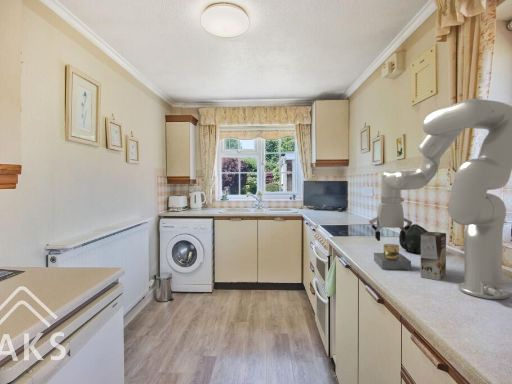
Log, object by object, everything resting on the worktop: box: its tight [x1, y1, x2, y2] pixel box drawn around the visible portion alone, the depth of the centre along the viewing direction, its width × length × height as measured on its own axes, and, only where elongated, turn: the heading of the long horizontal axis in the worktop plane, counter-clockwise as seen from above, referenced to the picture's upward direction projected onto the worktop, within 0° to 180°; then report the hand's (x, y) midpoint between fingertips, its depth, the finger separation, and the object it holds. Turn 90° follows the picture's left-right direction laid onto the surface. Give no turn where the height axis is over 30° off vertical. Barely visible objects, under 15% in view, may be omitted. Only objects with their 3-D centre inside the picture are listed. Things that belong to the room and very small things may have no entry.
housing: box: [373, 252, 412, 271], centre depth 128 cm, size 14×11×4 cm
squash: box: [398, 223, 429, 254], centre depth 150 cm, size 14×15×15 cm
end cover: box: [383, 243, 400, 258], centre depth 127 cm, size 6×6×8 cm
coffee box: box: [420, 231, 447, 281], centre depth 112 cm, size 9×6×16 cm
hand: (390, 240), depth 128 cm, fingers open, 9 cm apart
